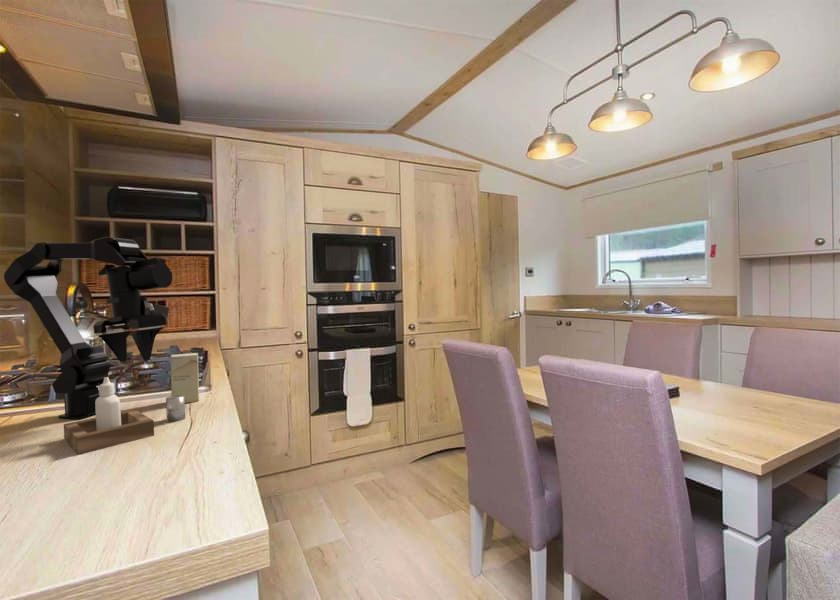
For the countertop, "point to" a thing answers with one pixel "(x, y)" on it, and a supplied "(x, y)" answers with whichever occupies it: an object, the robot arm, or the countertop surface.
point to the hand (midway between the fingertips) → (135, 361)
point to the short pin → (175, 408)
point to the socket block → (107, 432)
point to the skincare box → (185, 376)
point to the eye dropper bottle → (107, 407)
